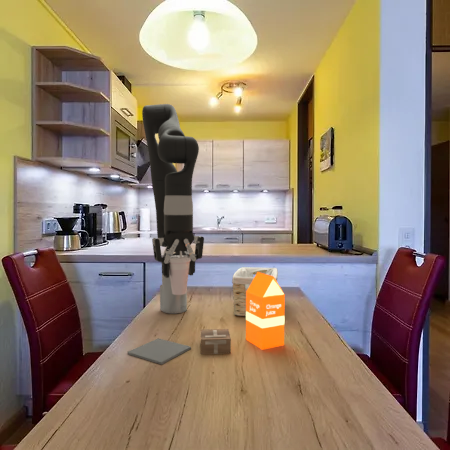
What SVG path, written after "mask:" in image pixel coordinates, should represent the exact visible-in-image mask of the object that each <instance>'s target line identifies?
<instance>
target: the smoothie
mask: <svg viewBox="0 0 450 450" xmlns="http://www.w3.org/2000/svg"><path fill="white" fill-rule="evenodd" d="M190 261H191V257H190V256H184V255H182V251H180V255H177V256H171V258H170V260H169V262H168V263H169V272H170V280H171V288H172V294H174V295H183V294H186V290H187V289H188V281H189V275H188V273H189V264H190ZM187 291H188V290H187Z"/></svg>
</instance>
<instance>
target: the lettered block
mask: <svg viewBox="0 0 450 450" xmlns="http://www.w3.org/2000/svg"><path fill="white" fill-rule="evenodd" d="M231 338H232V337H231V334H230V331H229V328H222V329H221V328H214V329H213V328H211V329H209V328H208V329H207V328H206V329H205V328H204V329H200V354H201V355H215V354H216V355H219V354H220V355H221V354H222V355H223V354H231V352H232V351H231V350H232V349H231V347H232V339H231Z"/></svg>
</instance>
